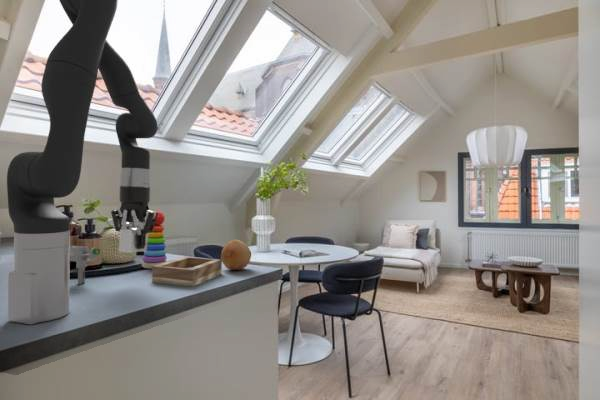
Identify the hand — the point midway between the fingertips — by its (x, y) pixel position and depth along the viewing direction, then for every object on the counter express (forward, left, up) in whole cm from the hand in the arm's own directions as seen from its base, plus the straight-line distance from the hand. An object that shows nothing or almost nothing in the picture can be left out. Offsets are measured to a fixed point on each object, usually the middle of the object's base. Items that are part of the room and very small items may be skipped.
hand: (133, 247), depth 99 cm
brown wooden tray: (+11, -10, -10) cm, 18 cm away
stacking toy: (+20, +9, -10) cm, 24 cm away
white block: (0, 0, -1) cm, 1 cm away
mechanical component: (-5, +13, -10) cm, 17 cm away
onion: (+26, -18, -10) cm, 34 cm away
